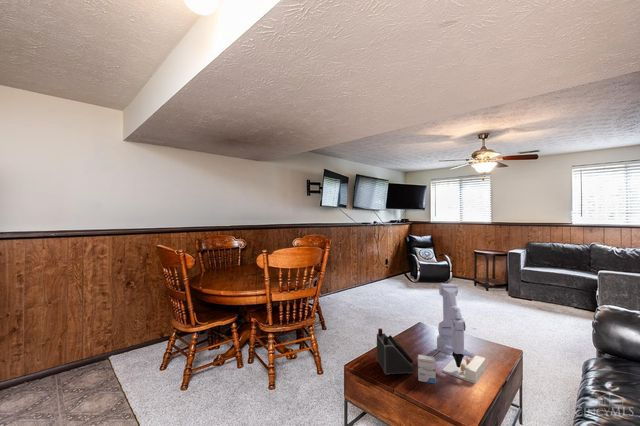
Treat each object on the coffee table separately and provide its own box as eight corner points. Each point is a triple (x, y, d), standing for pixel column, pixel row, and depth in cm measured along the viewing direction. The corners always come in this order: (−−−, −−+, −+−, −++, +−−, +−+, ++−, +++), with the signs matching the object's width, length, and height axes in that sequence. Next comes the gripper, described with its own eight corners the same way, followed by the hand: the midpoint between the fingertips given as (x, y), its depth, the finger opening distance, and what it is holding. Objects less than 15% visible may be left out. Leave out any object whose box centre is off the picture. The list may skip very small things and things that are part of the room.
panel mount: (442, 371, 154) (442, 360, 155) (455, 358, 169) (455, 348, 169) (475, 384, 143) (475, 372, 143) (486, 368, 157) (486, 358, 157)
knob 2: (466, 365, 158) (466, 359, 158) (468, 363, 160) (468, 356, 160) (471, 367, 156) (471, 360, 156) (474, 365, 158) (473, 358, 158)
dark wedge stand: (414, 375, 151) (414, 338, 152) (385, 376, 150) (384, 339, 151) (403, 360, 167) (403, 326, 168) (376, 361, 166) (376, 327, 167)
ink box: (435, 378, 148) (434, 356, 148) (435, 384, 143) (435, 360, 143) (418, 375, 151) (417, 353, 151) (418, 380, 146) (417, 358, 146)
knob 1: (460, 372, 151) (460, 365, 151) (463, 369, 154) (463, 362, 154) (466, 374, 149) (466, 367, 149) (468, 371, 152) (468, 364, 152)
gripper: (442, 340, 156) (442, 364, 156) (470, 348, 146) (470, 374, 146) (446, 336, 161) (447, 359, 161) (474, 343, 151) (474, 369, 151)
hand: (458, 366), depth 154 cm, fingers closed
